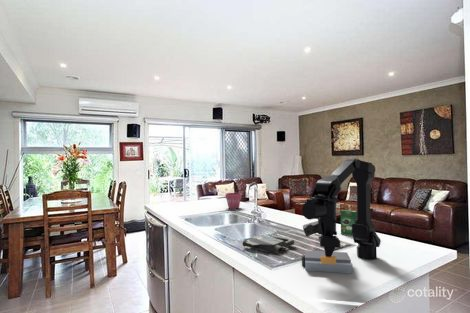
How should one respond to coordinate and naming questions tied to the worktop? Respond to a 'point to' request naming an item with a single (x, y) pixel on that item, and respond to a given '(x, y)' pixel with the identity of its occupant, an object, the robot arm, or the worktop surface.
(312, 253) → the cabinet housing
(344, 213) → the coffee box
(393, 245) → the worktop surface
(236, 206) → the plant pot
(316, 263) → the door
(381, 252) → the worktop surface
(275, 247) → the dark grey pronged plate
